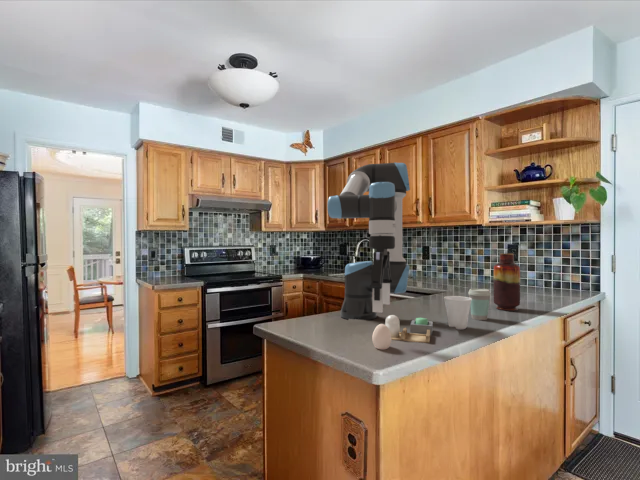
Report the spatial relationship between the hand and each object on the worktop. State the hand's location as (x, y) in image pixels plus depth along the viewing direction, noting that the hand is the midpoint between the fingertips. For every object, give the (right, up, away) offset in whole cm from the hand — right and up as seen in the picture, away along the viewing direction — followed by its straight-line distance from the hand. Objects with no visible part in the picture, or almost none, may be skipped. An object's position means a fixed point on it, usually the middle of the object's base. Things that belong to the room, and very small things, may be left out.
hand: (381, 308), depth 104 cm
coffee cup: (+48, -13, +43) cm, 66 cm away
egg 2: (+6, -12, +13) cm, 18 cm away
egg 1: (0, -13, 0) cm, 13 cm away
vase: (+70, -13, +63) cm, 95 cm away
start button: (+17, -12, +18) cm, 27 cm away
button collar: (+17, -13, +18) cm, 28 cm away
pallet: (+9, -13, +11) cm, 19 cm away
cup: (+33, -13, +28) cm, 45 cm away
